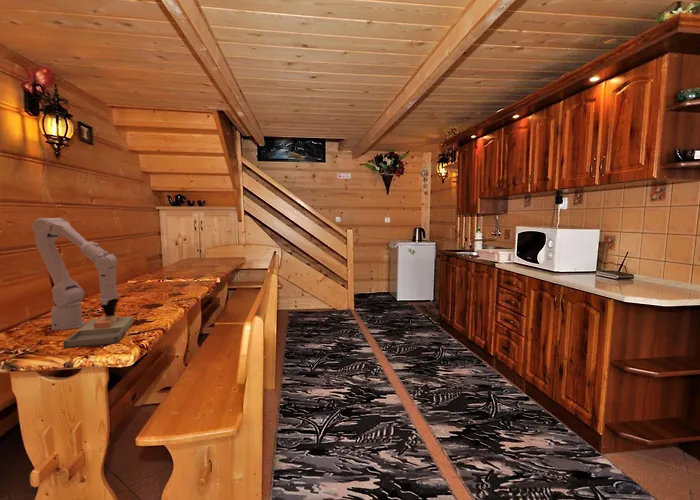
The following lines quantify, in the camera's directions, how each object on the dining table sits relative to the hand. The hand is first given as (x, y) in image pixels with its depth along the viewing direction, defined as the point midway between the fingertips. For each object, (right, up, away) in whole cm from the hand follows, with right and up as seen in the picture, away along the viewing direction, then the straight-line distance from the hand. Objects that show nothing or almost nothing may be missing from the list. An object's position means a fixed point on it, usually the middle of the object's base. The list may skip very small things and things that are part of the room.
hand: (110, 318), depth 151 cm
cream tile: (+1, -1, -3) cm, 4 cm away
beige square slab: (+1, -4, -4) cm, 5 cm away
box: (+5, -5, -16) cm, 18 cm away
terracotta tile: (+3, -2, -8) cm, 9 cm away
